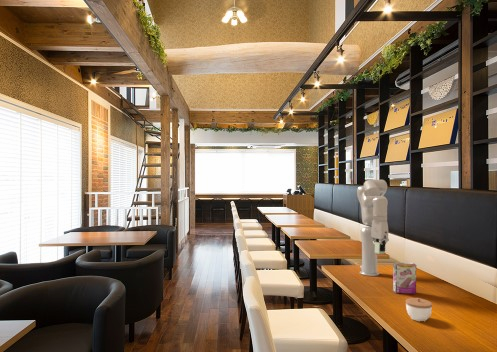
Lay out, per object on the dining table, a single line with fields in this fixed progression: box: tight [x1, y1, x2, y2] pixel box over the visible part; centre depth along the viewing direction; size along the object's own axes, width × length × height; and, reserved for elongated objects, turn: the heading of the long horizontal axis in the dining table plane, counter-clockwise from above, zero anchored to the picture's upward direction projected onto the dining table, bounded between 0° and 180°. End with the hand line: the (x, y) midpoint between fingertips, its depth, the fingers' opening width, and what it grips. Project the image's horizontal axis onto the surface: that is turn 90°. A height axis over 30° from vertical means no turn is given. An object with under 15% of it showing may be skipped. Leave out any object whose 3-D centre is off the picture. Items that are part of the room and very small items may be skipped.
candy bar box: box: [392, 261, 417, 295], centre depth 195 cm, size 11×5×16 cm, turn 84°
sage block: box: [374, 241, 386, 255], centre depth 201 cm, size 4×4×6 cm
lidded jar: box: [405, 297, 433, 322], centre depth 157 cm, size 11×11×9 cm
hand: (379, 250), depth 201 cm, fingers closed on sage block, 3 cm apart
